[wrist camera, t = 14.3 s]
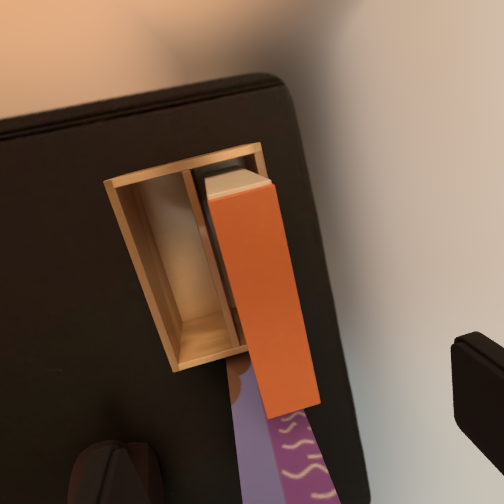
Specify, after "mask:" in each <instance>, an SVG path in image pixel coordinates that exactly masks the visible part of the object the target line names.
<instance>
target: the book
mask: <svg viewBox="0 0 504 504" xmlns="http://www.w3.org/2000/svg"><path fill="white" fill-rule="evenodd" d="M204 180H205V188H206V195H207V203H208V206H209V210H210V214H211V217H212V221H213V224H214V228H215V232H216V235H217V239H218V242H219V246H220V250H221V253H222V257H223V261H224V264H225V268H226V271H227V275H228V279H229V282H230V286H231V289H232V293H233V297H234V300H235V304H236V307H237V311H238V315H239V318H240V322H241V325H242V329H243V333H244V336H245V340H246V343H247V347H248V351H249V354H250V358H251V362H252V365H253V369H254V372H255V376H256V380H257V383H258V387H259V390H260V394H261V398H262V401H263V405H264V408H265V412H266V416H267V419H271V418H274V417H278V416H281V415H284V414H287V413H291V412H294V411H297V410H300V409H304V408H307V407H310V406H314V405H317V404H320V403H321V401H320V397H319V392H318V387H317V383H316V378H315V373H314V368H313V364H312V359H311V354H310V349H309V345H308V340H307V335H306V330H305V326H304V321H303V316H302V311H301V307H300V302H299V297H298V293H297V288H296V283H295V278H294V274H293V269H292V264H291V259H290V255H289V250H288V245H287V240H286V236H285V231H284V226H283V222H282V217H281V212H280V207H279V203H278V198H277V193H276V188H275V185H274V184H272V183H271V180H270V179H267V178H265V177H263V176H260V175H258V174H256V173H253V172H251V171H249V170H246V169H244V168H242V167H239V166H237V165H235V166H231V167H227V168H223V169H219V170H215V171H211V172H207V173H204Z"/></svg>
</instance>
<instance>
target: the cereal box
mask: <svg viewBox="0 0 504 504" xmlns="http://www.w3.org/2000/svg"><path fill="white" fill-rule="evenodd" d="M225 358H226V366H227V375H228V383H229V391H230V400H231V408H232V416H233V425H234V433H235V441H236V450H237V458H238V466H239V475H240V483H241V491H242V500H243V504H341V503H340V500H339V498H338V495H337V493H336V490H335V488H334V485H333V483H332V480H331V478H330V475H329V473H328V470H327V468H326V465H325V463H324V460H323V457H322V455H321V452H320V450H319V447H318V445H317V442H316V440H315V437H314V435H313V432H312V430H311V427H310V425H309V422H308V420H307V417H306V415H305V412H304V409H300V410H297V411H294V412H291V413H287V414H284V415H281V416H278V417H274V418H271V419H267V416H266V412H265V408H264V405H263V401H262V398H261V394H260V390H259V387H258V383H257V380H256V376H255V372H254V369H253V365H252V362H251V358H250V354H249V351H245V352H242V353H239V354H235V355H232V356H228V357H225Z"/></svg>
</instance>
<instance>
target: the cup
mask: <svg viewBox="0 0 504 504" xmlns="http://www.w3.org/2000/svg"><path fill="white" fill-rule="evenodd" d="M113 444H116V445H117V446H118V447H119V449H120V448H125V449H126V451H127V453H128V455H129V457H130V459H131V461H132V464H133V466H134V468H135V470H136V472H137V474H138V476H139V478H140V481H141V483H142V485H143V487H144V489H145V491H146V493H147V496H148V498H149V500H150V502H151V504H165V497H164V489H163V482H162V477H161V472H160V467H159V463H158V459H157V456H156V454H155V452H154V451H153V449H152V448H151V447H150V445H149V444H148V443H142V442H131V443H124V442H122V441H119V440H104V441H101V442H98V443H95V444H93V445H90V446H89V447H87V448H86V449H84V450H83V451H82V452H81V454H80V455H79V456H78V458H77V460H76V462H75V464H74V467H73V470H72V474H71V478H70V483H69V489H68V503H67V504H73V503H74V500H75V497H76V494H77V491H78V488H79V485H80V482H81V479H82V476H83V473H84V470H85V467H86V464H87V461H88V459H89V456H90V454H91V452H92V451H94V450H97V449H100V448H104V447H107V446H110V445H113Z"/></svg>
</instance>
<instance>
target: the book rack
mask: <svg viewBox="0 0 504 504" xmlns="http://www.w3.org/2000/svg"><path fill="white" fill-rule="evenodd" d="M235 165H237V166H239V167H242V168H244V169H246V170H249V171H251V172H253V173H256V174H258V175H260V176H263V177H265V178H267V179H268V176H267V171H266V167H265V162H264V157H263V153H262V148H261V143H260V142H259V143H251V144H244V145H240V146H236V147H232V148H228V149H224V150H220V151H216V152H212V153H208V154H204V155H200V156H196V157H192V158H188V159H184V160H180V161H176V162H172V163H168V164H164V165H160V166H156V167H151V168H147V169H143V170H139V171H135V172H131V173H127V174H124V175H121V176H118V177H115V178H112V179H109V180H106V181H103V183H104V185H105V188H106V191H107V194H108V196H109V199H110V202H111V205H112V207H113V210H114V213H115V215H116V218H117V221H118V224H119V226H120V229H121V232H122V235H123V237H124V240H125V243H126V245H127V248H128V251H129V254H130V256H131V259H132V262H133V264H134V267H135V270H136V273H137V275H138V278H139V281H140V284H141V286H142V289H143V292H144V294H145V297H146V300H147V303H148V305H149V308H150V311H151V314H152V316H153V319H154V322H155V324H156V327H157V330H158V333H159V335H160V338H161V341H162V343H163V346H164V349H165V352H166V354H167V357H168V360H169V363H170V365H171V368H172V371H173V372H177V371H180V370H184V369H187V368H190V367H194V366H197V365H201V364H204V363H208V362H211V361H215V360H218V359H221V358H225V357H228V356H232V355H235V354H239V353H242V352H245V351H248V347H247V343H246V340H245V336H244V333H243V329H242V325H241V322H240V318H239V315H238V311H237V307H236V304H235V300H234V297H233V293H232V289H231V286H230V282H229V279H228V275H227V271H226V268H225V264H224V261H223V257H222V253H221V250H220V246H219V242H218V239H217V235H216V232H215V228H214V224H213V221H212V217H211V214H210V210H209V206H208V203H207V195H206V188H205V180H204V173H207V172H211V171H215V170H219V169H223V168H227V167H231V166H235Z"/></svg>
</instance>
